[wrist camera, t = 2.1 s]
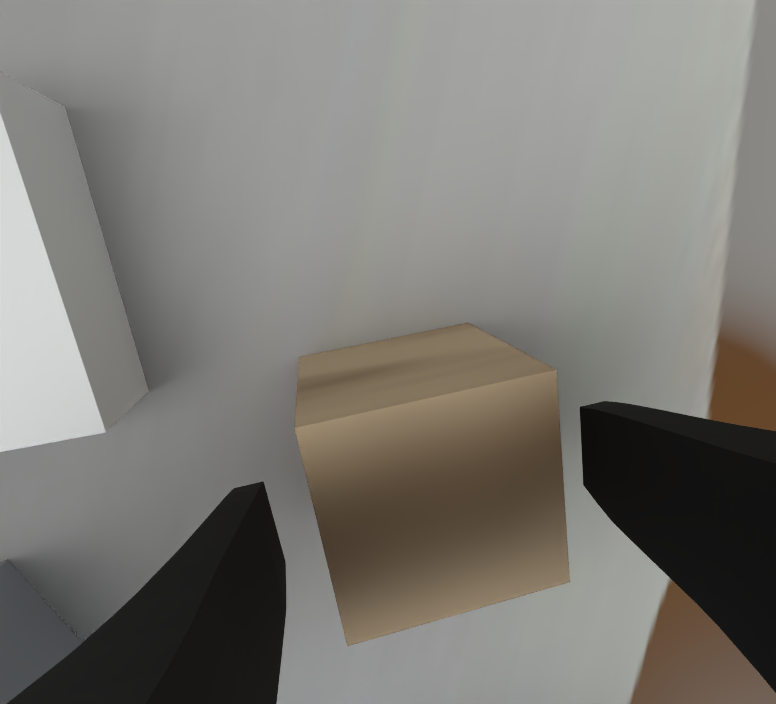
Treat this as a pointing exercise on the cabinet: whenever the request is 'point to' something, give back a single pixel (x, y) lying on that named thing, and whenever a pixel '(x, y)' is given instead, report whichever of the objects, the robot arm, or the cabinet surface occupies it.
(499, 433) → the oak block
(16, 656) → the slate block
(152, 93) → the cabinet surface
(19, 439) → the white base block
